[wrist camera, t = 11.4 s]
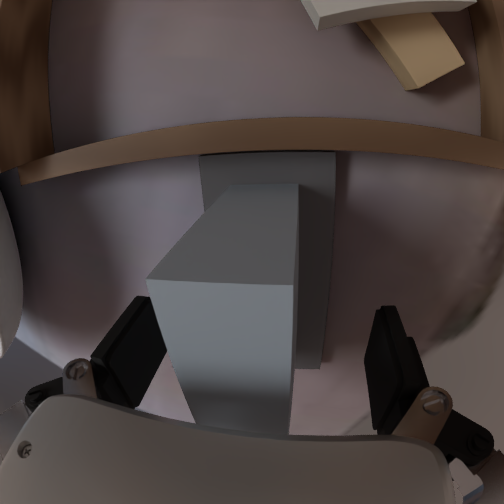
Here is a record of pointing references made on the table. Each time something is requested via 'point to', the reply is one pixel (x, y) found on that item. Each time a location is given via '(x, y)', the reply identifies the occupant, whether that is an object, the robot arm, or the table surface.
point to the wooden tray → (225, 132)
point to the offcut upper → (373, 9)
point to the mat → (310, 225)
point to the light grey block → (234, 308)
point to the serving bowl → (9, 281)
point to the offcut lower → (413, 47)
